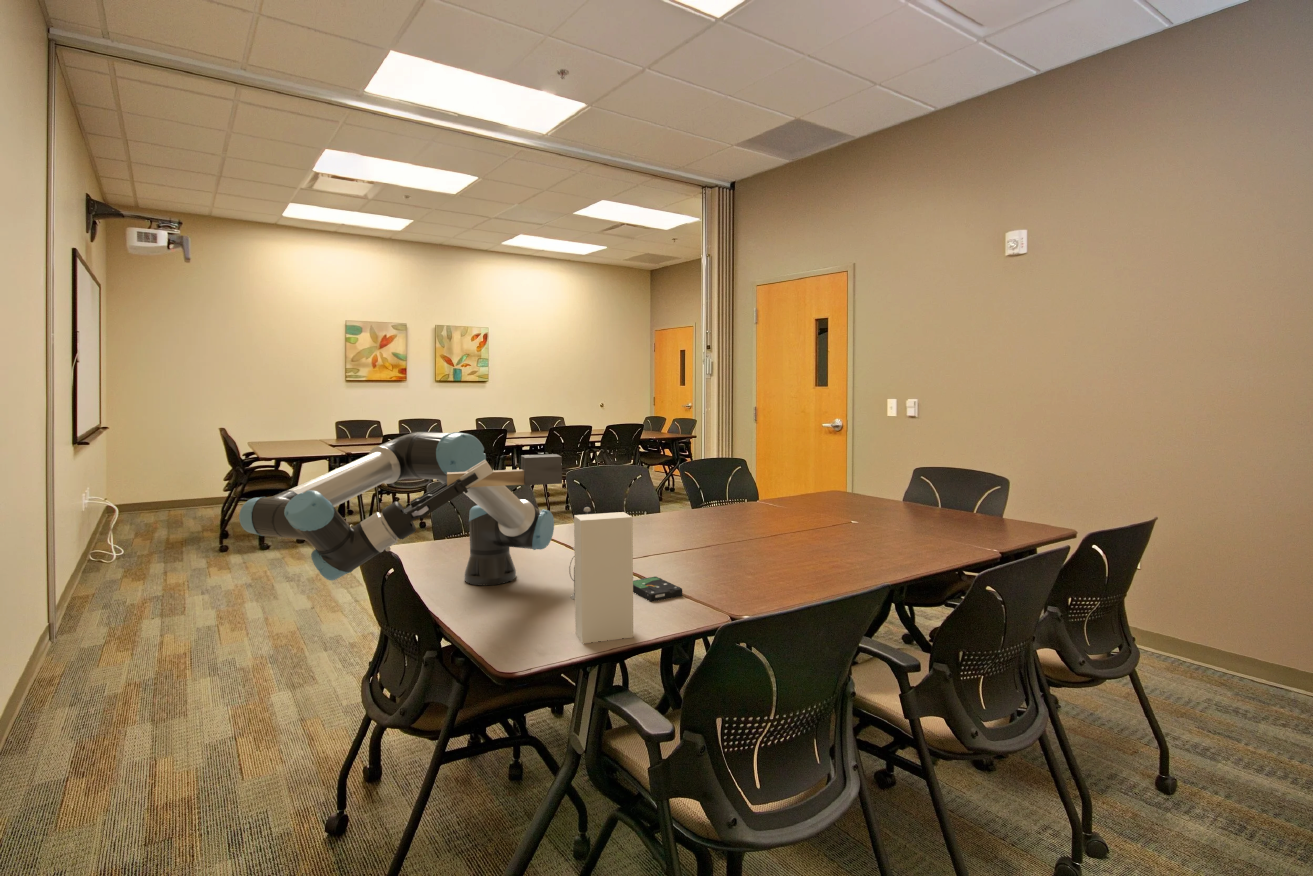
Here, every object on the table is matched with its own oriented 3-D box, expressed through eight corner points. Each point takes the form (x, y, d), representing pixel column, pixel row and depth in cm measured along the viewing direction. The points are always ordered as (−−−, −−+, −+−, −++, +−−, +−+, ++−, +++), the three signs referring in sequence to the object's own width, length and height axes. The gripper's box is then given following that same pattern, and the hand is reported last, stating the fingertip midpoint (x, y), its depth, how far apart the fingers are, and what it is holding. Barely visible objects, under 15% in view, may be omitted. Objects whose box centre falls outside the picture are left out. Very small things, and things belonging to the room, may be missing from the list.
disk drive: (683, 598, 189) (655, 584, 202) (683, 588, 189) (655, 575, 201) (651, 604, 184) (625, 590, 196) (651, 594, 183) (625, 580, 196)
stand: (575, 633, 160) (573, 515, 158) (624, 627, 164) (623, 512, 162) (582, 643, 153) (580, 520, 151) (633, 637, 157) (632, 517, 155)
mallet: (446, 485, 148) (446, 457, 147) (556, 480, 156) (556, 454, 155) (448, 489, 142) (447, 460, 142) (562, 483, 150) (561, 456, 149)
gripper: (401, 533, 150) (494, 476, 156) (399, 549, 135) (502, 485, 141) (381, 504, 148) (477, 448, 154) (377, 517, 133) (483, 454, 139)
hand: (489, 465), depth 147 cm, fingers closed on mallet, 3 cm apart
